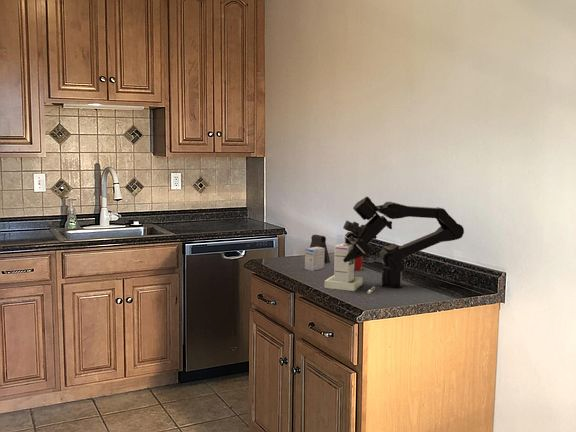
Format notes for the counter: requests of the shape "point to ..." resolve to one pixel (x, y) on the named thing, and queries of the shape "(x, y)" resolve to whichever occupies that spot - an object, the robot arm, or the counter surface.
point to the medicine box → (314, 258)
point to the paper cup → (358, 263)
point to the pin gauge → (371, 290)
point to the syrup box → (343, 264)
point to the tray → (343, 284)
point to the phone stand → (320, 245)
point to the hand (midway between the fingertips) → (341, 259)
